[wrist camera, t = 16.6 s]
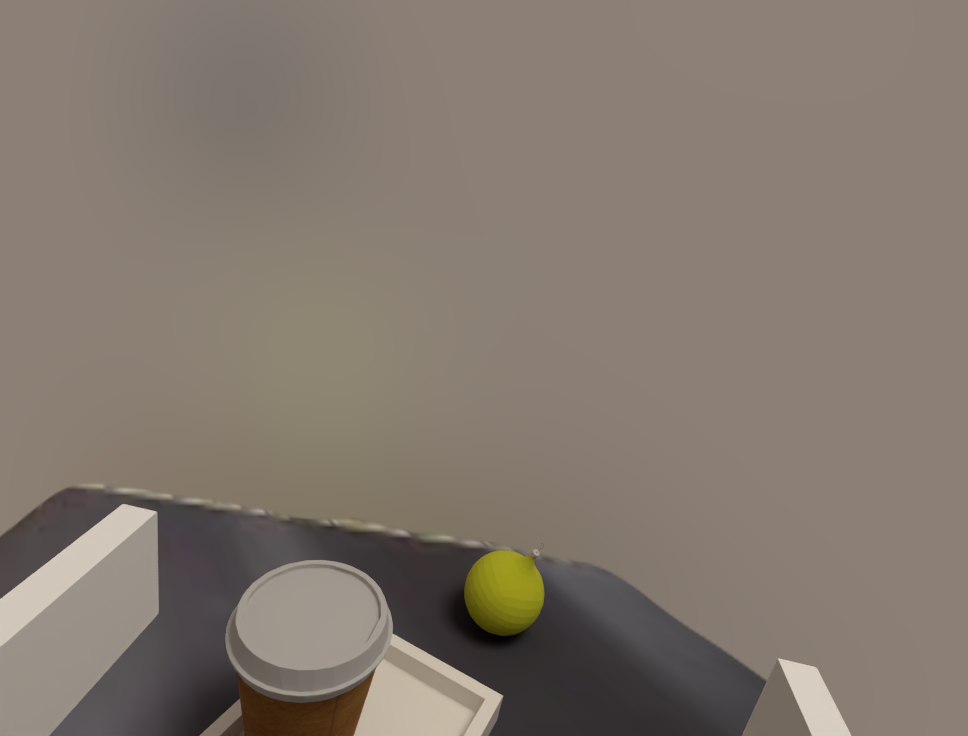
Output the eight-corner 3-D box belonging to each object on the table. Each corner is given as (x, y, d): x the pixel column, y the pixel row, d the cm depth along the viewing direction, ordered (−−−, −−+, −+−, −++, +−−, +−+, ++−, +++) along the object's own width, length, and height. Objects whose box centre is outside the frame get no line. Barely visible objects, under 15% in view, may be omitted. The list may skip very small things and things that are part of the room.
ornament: (544, 653, 51) (570, 561, 48) (465, 655, 49) (487, 559, 46) (523, 594, 57) (545, 509, 54) (453, 594, 56) (471, 506, 52)
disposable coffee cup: (239, 687, 42) (247, 551, 38) (374, 688, 44) (394, 558, 40) (200, 833, 33) (204, 677, 29) (370, 826, 35) (396, 679, 31)
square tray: (496, 720, 44) (503, 696, 43) (380, 935, 31) (385, 906, 30) (338, 628, 50) (341, 605, 49) (182, 778, 36) (182, 750, 36)
